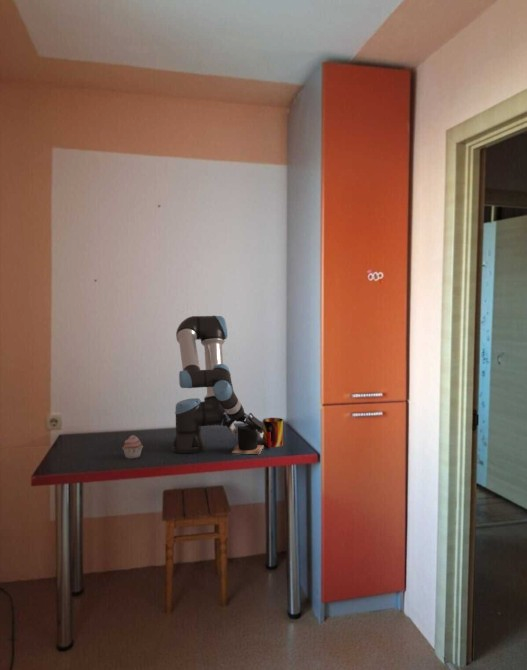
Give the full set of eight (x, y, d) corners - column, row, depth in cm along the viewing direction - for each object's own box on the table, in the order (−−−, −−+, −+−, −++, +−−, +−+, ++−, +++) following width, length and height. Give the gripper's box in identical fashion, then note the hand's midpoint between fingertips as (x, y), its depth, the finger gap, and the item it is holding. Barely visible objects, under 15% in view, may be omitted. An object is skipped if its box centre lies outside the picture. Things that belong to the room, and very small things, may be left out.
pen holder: (255, 451, 227) (255, 429, 227) (235, 450, 229) (235, 428, 229) (259, 445, 237) (259, 424, 236) (240, 444, 238) (240, 423, 238)
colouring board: (232, 454, 228) (232, 451, 228) (238, 446, 240) (237, 443, 240) (259, 455, 226) (259, 452, 226) (263, 447, 238) (263, 444, 238)
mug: (268, 450, 234) (268, 424, 233) (260, 442, 247) (260, 418, 247) (288, 448, 237) (288, 423, 236) (279, 440, 250) (279, 417, 249)
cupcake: (126, 461, 219) (126, 438, 218) (119, 456, 226) (118, 434, 226) (147, 457, 224) (146, 435, 224) (138, 452, 232) (138, 431, 231)
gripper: (205, 413, 221) (222, 438, 236) (256, 417, 211) (271, 444, 225) (211, 399, 226) (227, 425, 240) (261, 402, 216) (275, 429, 230)
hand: (248, 434), depth 233 cm, fingers open, 13 cm apart
